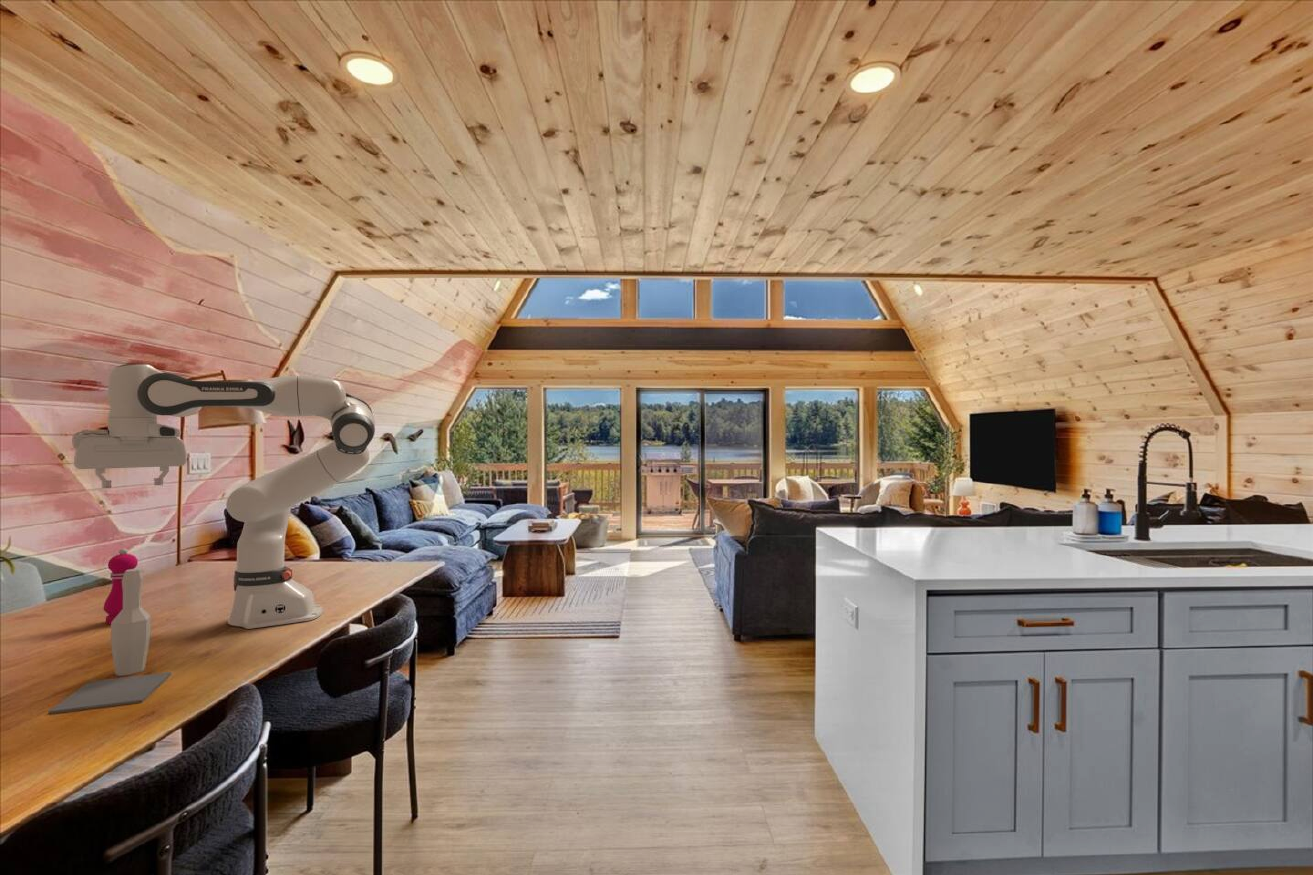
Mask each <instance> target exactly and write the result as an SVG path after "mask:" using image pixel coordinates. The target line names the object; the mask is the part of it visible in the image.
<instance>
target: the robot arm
mask: <svg viewBox="0 0 1313 875" xmlns="http://www.w3.org/2000/svg"><path fill="white" fill-rule="evenodd" d="M107 401H108V403H109V413H108V415H107V429H81V431H78V432H75V433H74V434H73V435H72V439H71V440H72V441H71V443H72V446H73V448H74V449H75V451H74V455H73V456H74V458H73V467H75V468H76V469H77V470H94V474H95V476H96V477H97V478H98V479H99V480H100V481H101V489H111V488H112V479H111V480H110V479H109V480H108V479H106V478H105V476H104V474H105V473H106V469H128V468H129V469H131V468H136V469H137V468H159V472H161V473H160V475H159V476H158V477H154V478H153V485H154V486H163V485H164V478H165V477H166V475H168V474H169V472H170V467H183V466H185V464H187V462H188V458H187V457H188V456H187V448H186V444H185V442H184V441H183V439H181V438H179V437H181V433H182V431H181V429H180V428H176V427H173V426H169V425H166V424H161V423H159V422H158V416H169V417H176V418H185V417H190V416H193V415H195V414H197V413H199V412H200V411H201V410H202V409H203V408H222V407H223V408H226V407H227V408H233V407H234V408H235V407H236V408H237V407H238V408H246V409H251V410H255V411H259V412H263V413H266V414H268V415H273V416H282V417H309V416H310V417H311V416H312V417H313V416H315V417H320V418H324V419H327V420H328V421H330V427H331V436H332V438H333V441H331V442H330V443H329V444H327V445H324V446H323V447H321V448H319V449H317V450H315V451H312V452H311V453H309V454H307V455H305V456H303V457H301V458H299V459H297V460H295V461H293V462H291V463H288V464H286V465H284V466H281V467H279V468H277V469H275V470H273V471H271V472H268V473H265V474H264V475H261V476H259V477H257V478H255V479H253V480H250V481H249V482H247V483H245V484H243V485H241V486H239V487H237V488H235V489H234V490H233V491H232V492H231V493H230V494H229V496H228V497H227V500H226V504H225V505H226V511H227V512H228V515H230V517H232V519H235V521H238V522H243V528H242V530H241V534H240V536H239V538H238V541H237V542H236V543H237V545H236V570H235V571H234V575H233V590H234V597H233V602H232V603H233V604H232V608H231V612H230V615H229V618H228V620H227V624H228V625H230V626H234V627H243V628H244V629H249V630H250V629H257V628H264V627H272V626H280V625H287V624H294V623H301V622H309V621H313V620H315V619H317V618H319V617H320V616H321V615H322V614H323V612H324V610H323V609H324V608H323V606H322V605H320V604H316V603H315V599H314V598H315V597H314V594H313V592H312V591H311V589H310V588H308V587H306V586H304V585H303V584H301V583H299V582H297V581H296V580H294V579H292V578H293V567H288V566H285V549H286V548H285V544H286V536H287V535H286V534H287V532H288V531H287V530H288V527H289V520H290V515H291V511H292V510H291V509H292V507H293V506H296V505H297V504H301V502H303V501H306V500H307V499H311V498H312V497H314V496H316V495H318V494H320V493H321V492H323V491H327V489H330V488H331V487H333V486H335V485H336V484H339V483H340V482H343V481H344V480H346V479H347V478H349V477H350V476H352V475H354V474H356V473H358V471H360V470H361V469H362V468H363V467H364V466H365V467H366V465H367V464H368V463H369V460H370V452H369V449H368V448H367V447H368V446H369V445H370V443H371V442H372V441H373V438H374V436H375V433H376V428H375V426H376V425H375V422H376V421H375V417H374V415H373V412H372V409H371V408H372V407H370V405H369V404H368V403H367V402H365V400H363V399H361V398H358V397H356V396H353V395H350V394H349V393H346V390H345V387H344V386H343V384H342V383H341V382H340V381H339V380H337V379H334V378H328V377H320V376H311V375H286V376H277V377H276V376H275V377H270V378H269V377H268V378H261V379H254V380H253V379H252V380H247V381H246V380H245V381H218V380H217V381H215V380H213V381H212V380H210V381H209V380H207V381H206V380H203V381H202V380H192V379H188V378H185V377H182V376H179V375H177V374H174V373H170V372H164V371H162V370H160V369H157V368H155V367H154V366H152V365H151V364H147V363H129V364H128V363H127V364H121V365H119V366H115V367H114V368H113V369H112V370H111V372H110V374H109V378H108V384H107Z"/></svg>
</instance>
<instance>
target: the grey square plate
mask: <svg viewBox="0 0 1313 875" xmlns="http://www.w3.org/2000/svg"><path fill="white" fill-rule="evenodd" d="M171 675H172V671H168V672H161V673H152V674H151V673H150V674H141V675H134V676H133V675H132V676H122V677H115V678H106V679H99V680H89V681H87V682H86V683H85V684H84V685H81V687H80V688H78V689H77V690H75V691H74V692H73V693H71V694H70V695H68V696H67V697H66V698H64V699H63V700H62V701H60V702H59V703H58V704H56V705H55V706H54V707H52V708H51V709H50V710H48V715H51V714H61V713H67V712H75V711H83V710H91V709H92V710H93V709H99V708H106V707H107V708H108V707H116V706H124V705H131V704H138V703H139V704H140V703H143V702H144V701H145V700H146V699H147V698H148V697H150V695H151V694H153V692H155V691H156V690H157V689H158V688H159V687H160V686H161V685H162V684H163V683H164V682H165V681H166V680H167V679H168V678H169V677H170V676H171Z"/></svg>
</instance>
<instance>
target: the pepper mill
mask: <svg viewBox="0 0 1313 875" xmlns="http://www.w3.org/2000/svg"><path fill="white" fill-rule="evenodd" d="M128 550H129V549H127V548H120V549H119V551H118V552H119V554H116V555H114V556H112V557H111V558H110V559H109V560H108V563H107V568H108V570H110V571H111V572H110V574H109V575H110V577H109V578H110V579H111V582H112V585H111V586H112V587H111V589H110V592H109V594H108V596H107V598H106V599H105V602H104V604H103V611H104V612H105V613H106V614H107V616H106V617H105V624H106V625H110V626H111V622H112V621H113V620H114V619H115V617H116V616H117V615H118V614H119V613H120V612H121V610H122V609H123V588H122V579H123V576H124V574H125V571H126V570H130V569H136V568H137V567H138V562H139V561H138V558H137V556H136V555H134V554H132V553H128V552H129V551H128Z"/></svg>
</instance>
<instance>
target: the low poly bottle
mask: <svg viewBox="0 0 1313 875" xmlns="http://www.w3.org/2000/svg"><path fill="white" fill-rule="evenodd" d="M143 582H144V577H143V573H142V571H141V568H134V569H130V570H126V571H125V574H124V576H123V579H122V588H123V609H122V610H121V612H120V613H119V614H118V615H117V616H116V617H115V619H114V620H113V621H112V622H111V625H110V646H111V653H112V660H113V668H114V669H113V670H114V674H115V675H116V676H118V677H121V676H122V677H124V676H129V675H130V676H131V675H134V674H137V673H141V672H143V671H144V670H145V668H146V662H147V658H148V656H147V655H148V650H149V646H150V640H151V634H152V633H151V632H152V628H151V627H152V625H151V624H152V616H151V615H150V614H149V613H148V612H147V611H146V610H145V609H144V608H143V607H142V591H143V585H144V584H143Z"/></svg>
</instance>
